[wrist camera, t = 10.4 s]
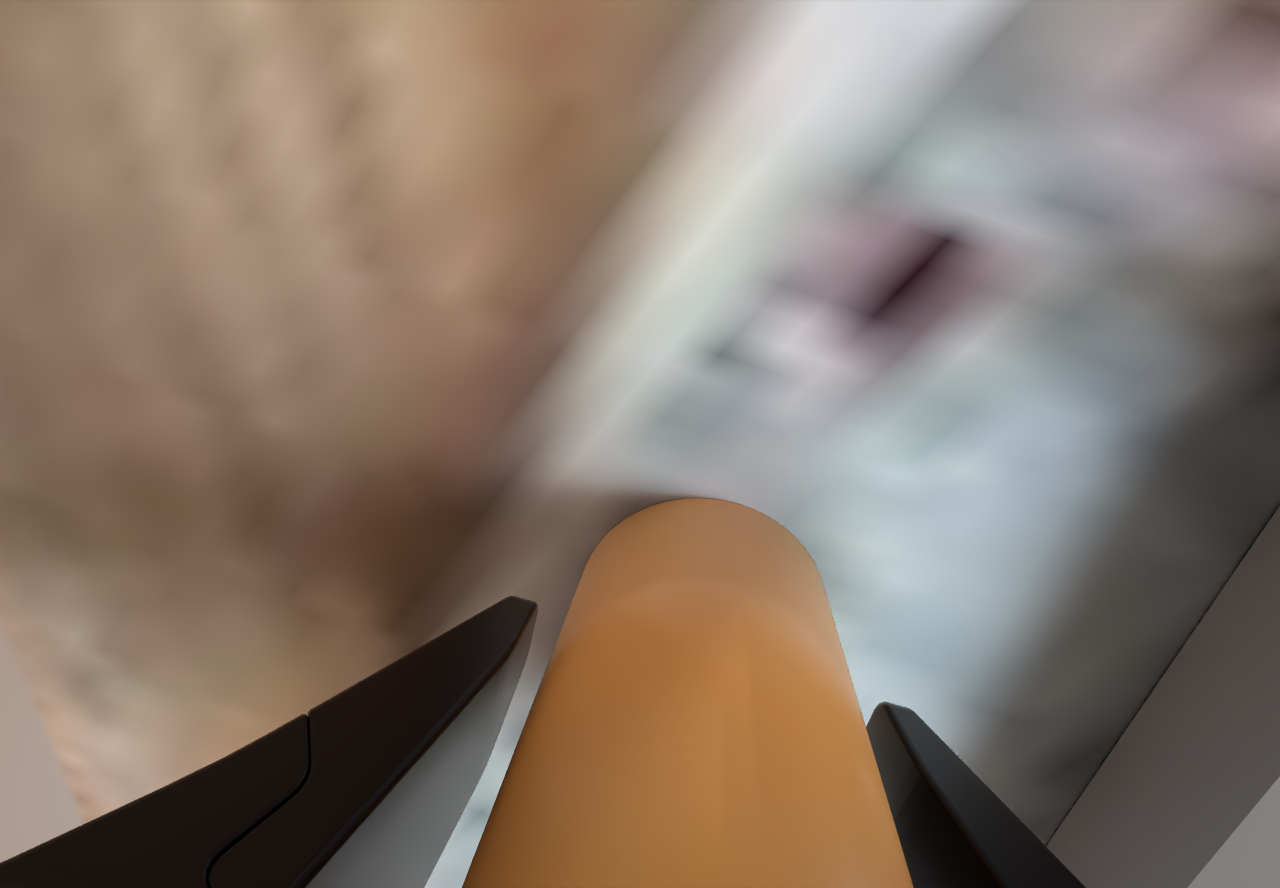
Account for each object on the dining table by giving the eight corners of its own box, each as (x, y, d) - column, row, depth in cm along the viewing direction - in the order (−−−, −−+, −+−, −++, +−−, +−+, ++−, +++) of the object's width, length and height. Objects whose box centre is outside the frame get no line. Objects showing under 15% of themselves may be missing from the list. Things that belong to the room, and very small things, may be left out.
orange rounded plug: (779, 736, 11) (848, 1289, 5) (557, 672, 11) (389, 1149, 5) (864, 539, 9) (1084, 1003, 4) (609, 467, 10) (455, 818, 4)
